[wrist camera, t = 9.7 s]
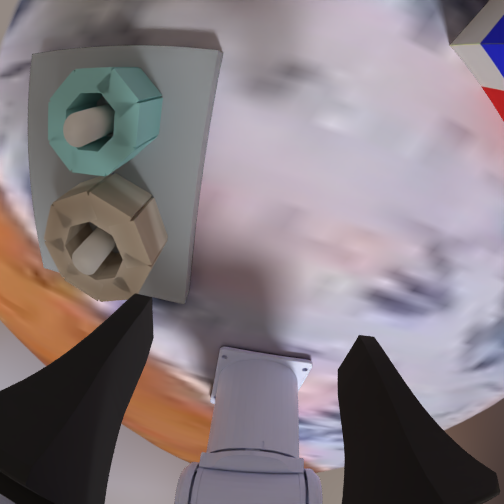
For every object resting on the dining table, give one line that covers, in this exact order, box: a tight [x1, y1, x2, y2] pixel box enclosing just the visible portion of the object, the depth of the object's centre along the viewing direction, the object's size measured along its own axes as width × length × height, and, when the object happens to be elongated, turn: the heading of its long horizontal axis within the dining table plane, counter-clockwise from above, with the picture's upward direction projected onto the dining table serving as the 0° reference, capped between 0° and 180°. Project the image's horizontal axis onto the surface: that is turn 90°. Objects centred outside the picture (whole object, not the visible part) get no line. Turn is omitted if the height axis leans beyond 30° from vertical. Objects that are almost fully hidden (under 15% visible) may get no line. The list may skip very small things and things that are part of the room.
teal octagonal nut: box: [48, 67, 163, 176], centre depth 13 cm, size 5×5×3 cm
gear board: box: [28, 45, 223, 304], centre depth 15 cm, size 16×12×6 cm
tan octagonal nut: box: [44, 172, 168, 302], centre depth 17 cm, size 7×7×3 cm
